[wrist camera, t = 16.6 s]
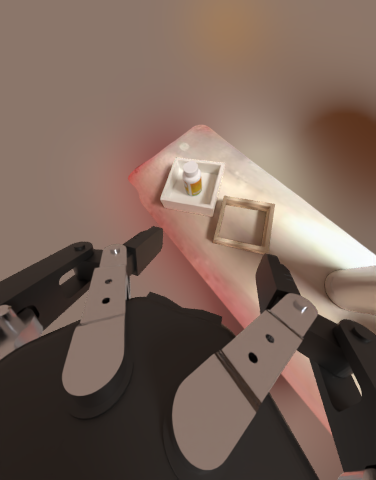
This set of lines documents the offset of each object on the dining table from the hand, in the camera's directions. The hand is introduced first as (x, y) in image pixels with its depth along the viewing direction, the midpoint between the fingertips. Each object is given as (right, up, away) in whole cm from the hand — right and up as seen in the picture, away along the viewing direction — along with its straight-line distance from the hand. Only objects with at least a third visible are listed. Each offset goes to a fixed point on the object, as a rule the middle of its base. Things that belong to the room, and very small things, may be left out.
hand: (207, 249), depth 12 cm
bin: (+1, +17, +37) cm, 41 cm away
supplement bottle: (0, +17, +36) cm, 40 cm away
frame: (+14, +5, +31) cm, 35 cm away
